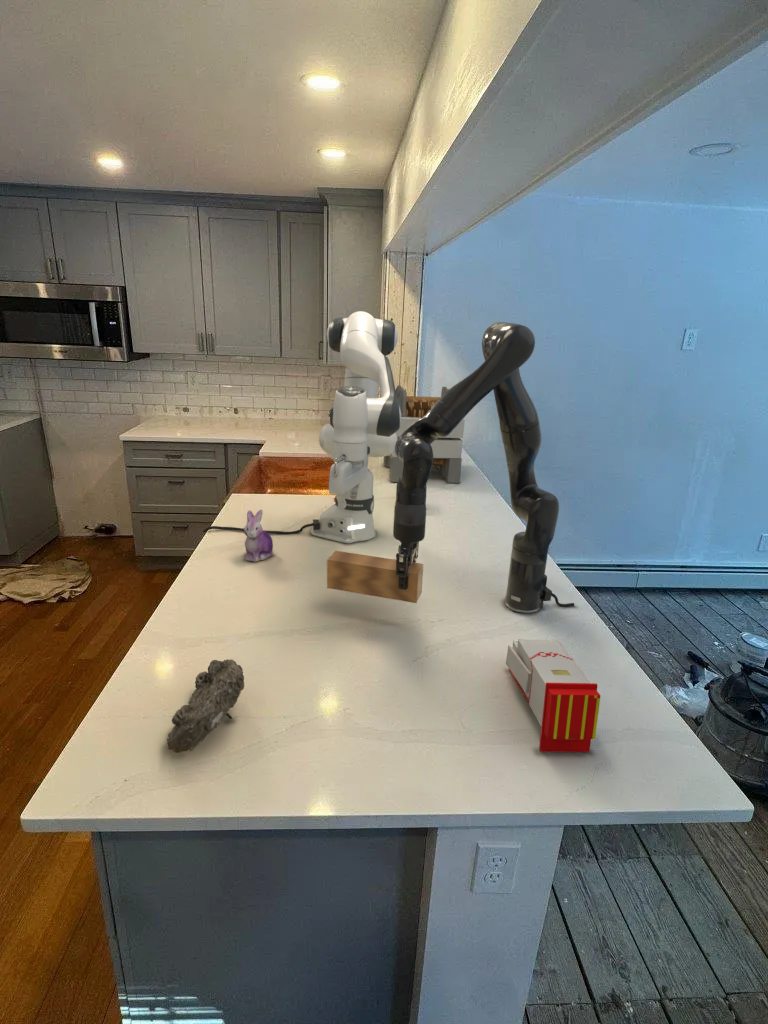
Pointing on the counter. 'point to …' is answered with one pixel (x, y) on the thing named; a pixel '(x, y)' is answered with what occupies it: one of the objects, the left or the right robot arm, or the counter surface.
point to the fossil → (206, 705)
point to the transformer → (443, 448)
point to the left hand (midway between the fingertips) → (348, 503)
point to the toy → (556, 694)
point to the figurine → (257, 538)
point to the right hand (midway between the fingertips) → (406, 582)
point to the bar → (372, 576)
